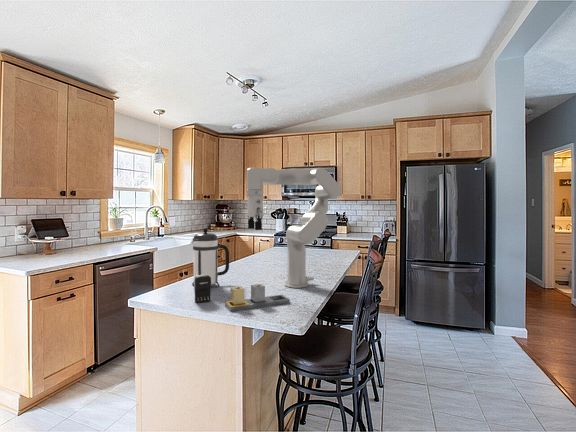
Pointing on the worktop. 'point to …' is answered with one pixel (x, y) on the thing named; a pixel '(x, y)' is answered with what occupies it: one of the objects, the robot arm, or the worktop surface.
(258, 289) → the grey block with knob
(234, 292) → the wooden block with knob
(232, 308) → the grey block holder rack
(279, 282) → the worktop surface
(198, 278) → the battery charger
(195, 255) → the coffee press
